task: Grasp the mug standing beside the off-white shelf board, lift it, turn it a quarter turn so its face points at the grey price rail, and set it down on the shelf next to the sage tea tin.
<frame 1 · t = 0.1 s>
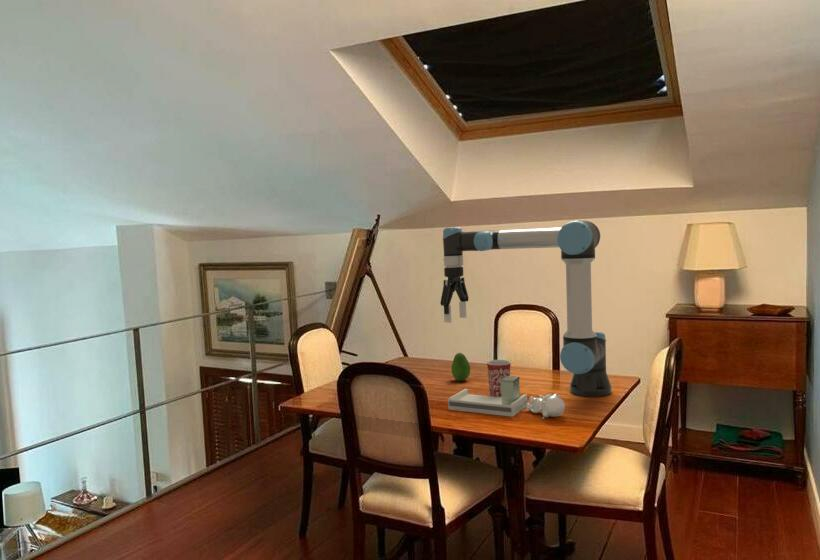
hand: (455, 320, 244), 28 cm above the table, fingers open, 13 cm apart
avocado: (461, 381, 260), on the table
figurine: (545, 415, 207), on the table
shelf: (488, 407, 219), on the table
mug: (498, 396, 233), on the table
tea tin: (510, 403, 215), point 2 cm above the table, touching shelf
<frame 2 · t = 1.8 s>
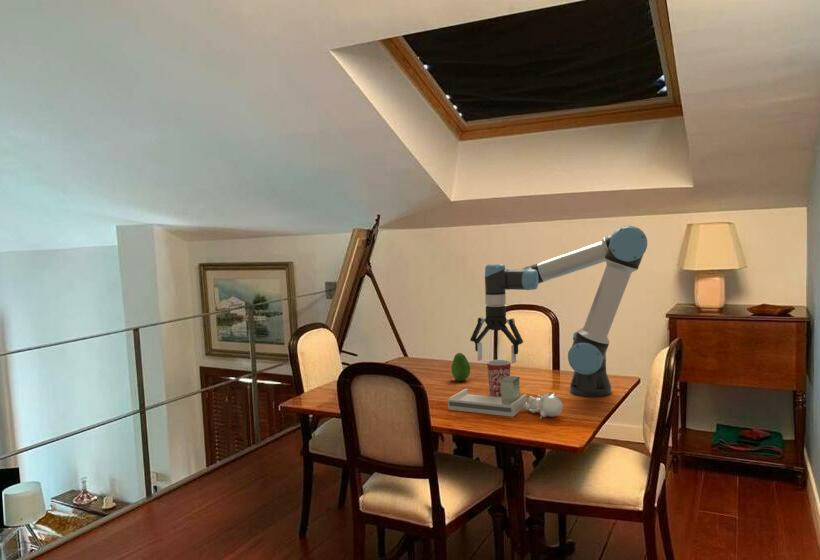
hand: (496, 361, 232), 13 cm above the table, fingers open, 13 cm apart
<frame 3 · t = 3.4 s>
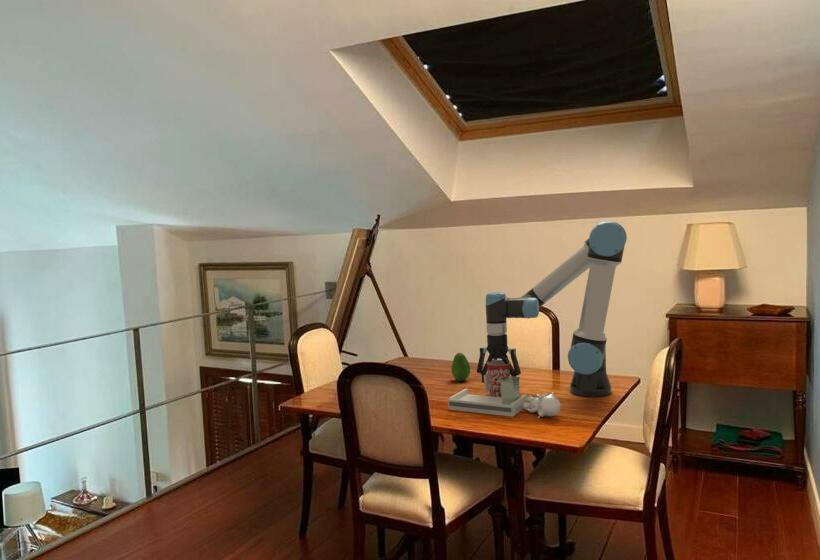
hand: (499, 392, 233), 2 cm above the table, fingers open, 9 cm apart
mug: (498, 396, 233), on the table, touching gripper
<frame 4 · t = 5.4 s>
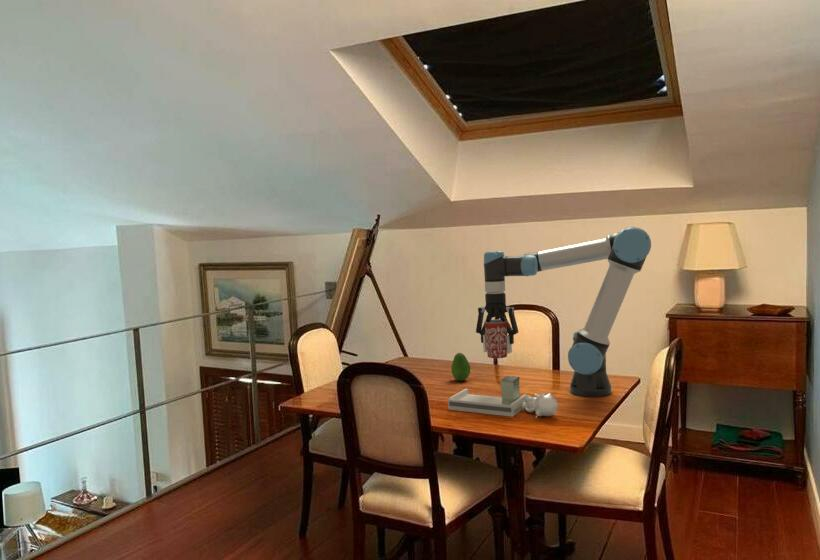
hand: (497, 352, 232), 17 cm above the table, fingers closed on mug, 9 cm apart
mug: (496, 356, 232), point 15 cm above the table, touching gripper
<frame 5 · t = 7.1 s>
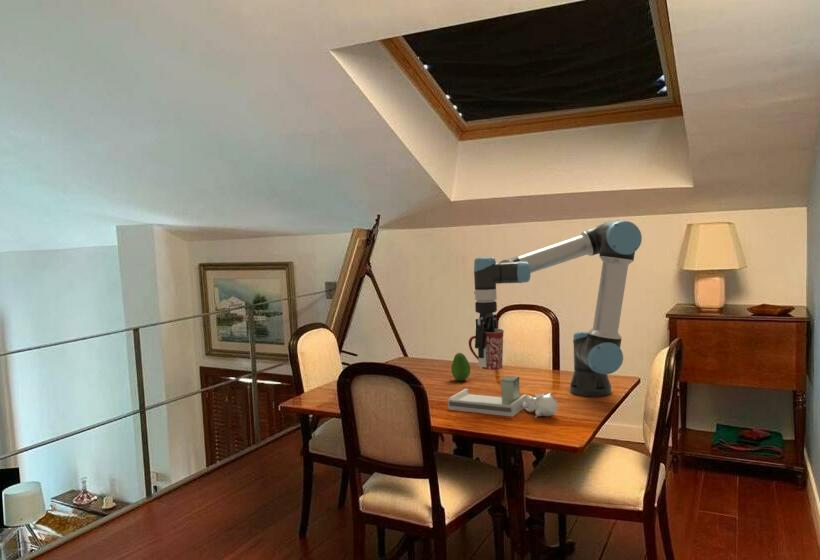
hand: (487, 364, 219), 15 cm above the table, fingers closed on mug, 9 cm apart
mug: (487, 368, 218), point 14 cm above the table, touching gripper
when the fingers open (5 cm above the table, at t = 9.7 s): mug drops 1 cm, resting on shelf.
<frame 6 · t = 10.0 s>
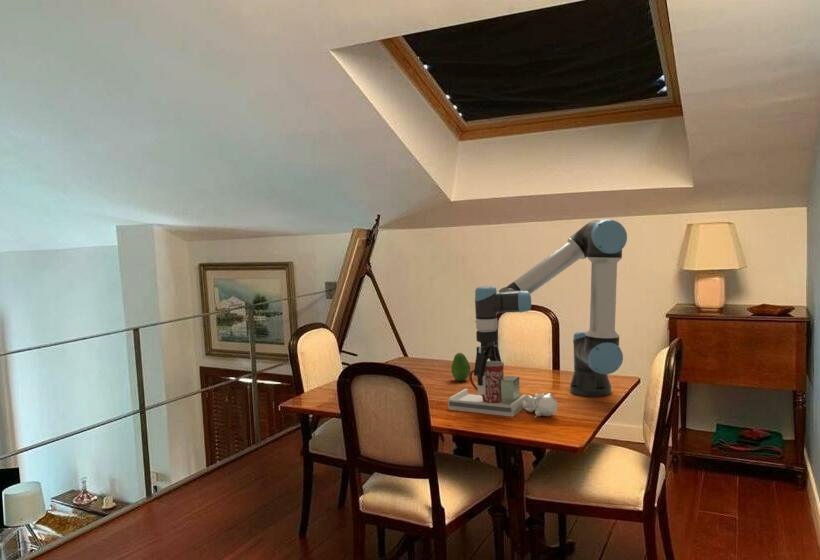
hand: (488, 389, 219), 6 cm above the table, fingers open, 12 cm apart
mug: (488, 401, 220), point 2 cm above the table, touching shelf
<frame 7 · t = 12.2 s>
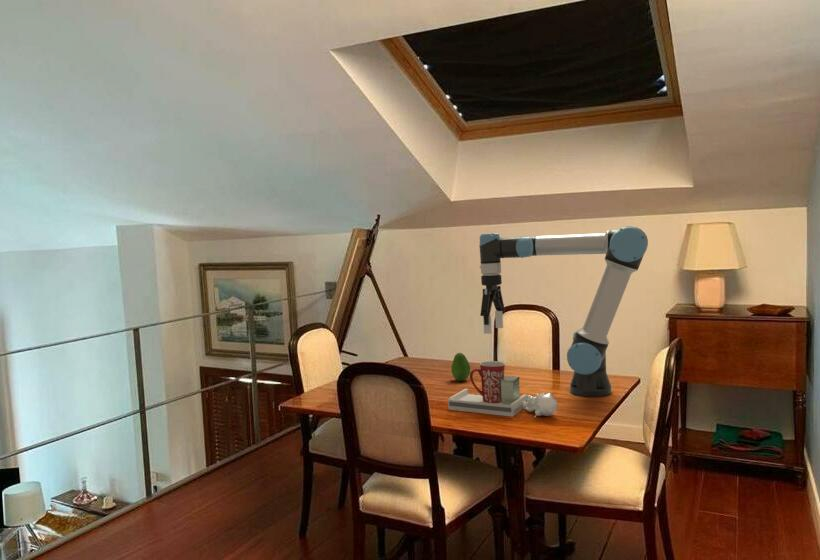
hand: (493, 330, 232), 25 cm above the table, fingers open, 13 cm apart
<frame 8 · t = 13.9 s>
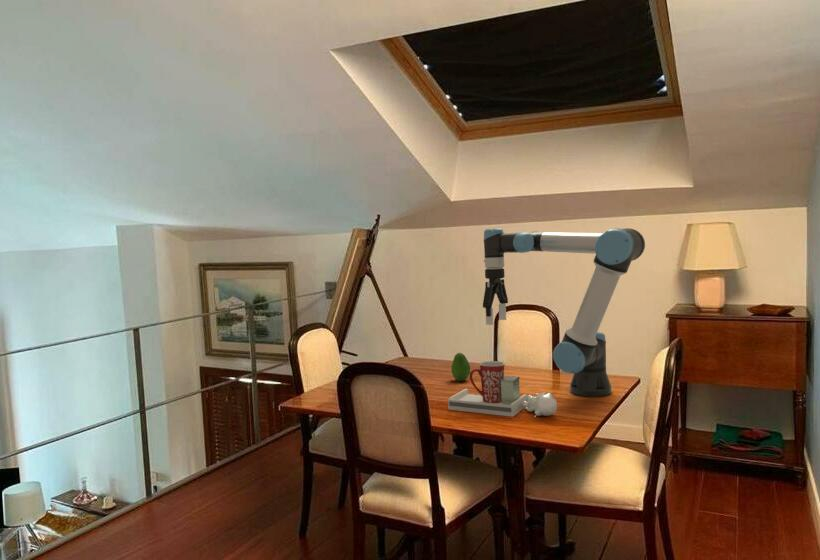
hand: (496, 322, 242), 27 cm above the table, fingers open, 13 cm apart
at the end: mug inside the target area (0.8 cm from its centre), point 1.8 cm above the table; mug tilted 0°; the gripper is holding nothing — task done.
